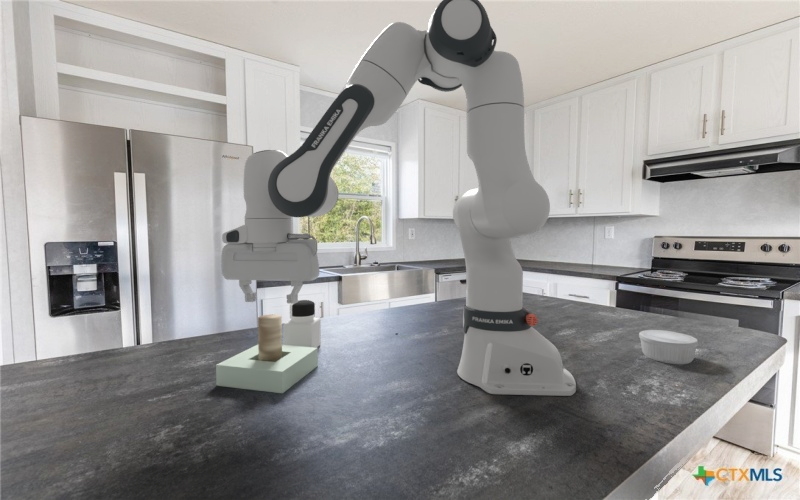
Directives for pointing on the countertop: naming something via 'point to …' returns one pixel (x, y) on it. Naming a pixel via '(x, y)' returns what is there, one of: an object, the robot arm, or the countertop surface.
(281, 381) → the socket block
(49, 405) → the countertop surface
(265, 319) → the maple peg
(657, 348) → the ramekin
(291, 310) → the medicine bottle
